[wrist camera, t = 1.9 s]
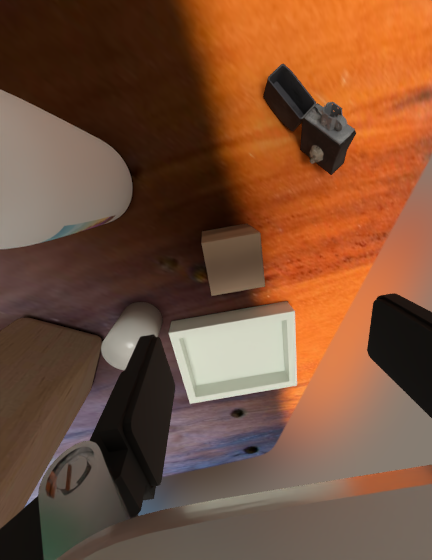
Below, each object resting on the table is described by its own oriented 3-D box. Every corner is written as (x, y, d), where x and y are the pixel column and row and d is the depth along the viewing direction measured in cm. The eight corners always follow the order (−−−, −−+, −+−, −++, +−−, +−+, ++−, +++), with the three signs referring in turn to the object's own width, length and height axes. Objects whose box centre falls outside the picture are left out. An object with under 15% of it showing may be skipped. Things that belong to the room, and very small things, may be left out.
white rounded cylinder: (116, 305, 26) (93, 335, 21) (156, 298, 26) (144, 326, 21) (129, 338, 28) (111, 374, 23) (166, 331, 28) (158, 366, 23)
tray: (171, 321, 27) (168, 333, 25) (287, 301, 27) (294, 311, 25) (191, 388, 32) (190, 403, 30) (290, 371, 32) (296, 385, 30)
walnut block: (201, 231, 24) (201, 243, 18) (246, 223, 23) (260, 232, 18) (209, 273, 25) (211, 295, 20) (251, 266, 25) (265, 286, 20)
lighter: (262, 128, 22) (252, 78, 17) (278, 110, 22) (274, 52, 17) (324, 181, 20) (336, 143, 15) (344, 162, 20) (364, 116, 14)
